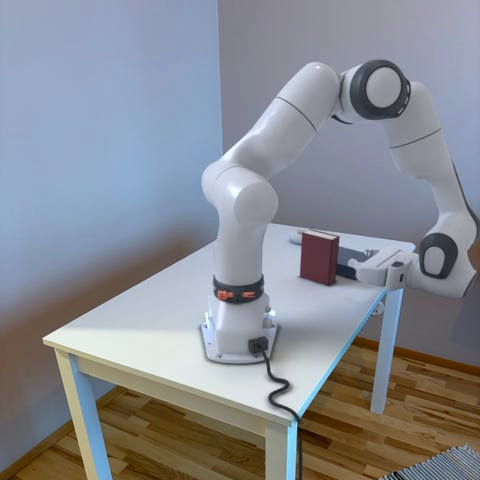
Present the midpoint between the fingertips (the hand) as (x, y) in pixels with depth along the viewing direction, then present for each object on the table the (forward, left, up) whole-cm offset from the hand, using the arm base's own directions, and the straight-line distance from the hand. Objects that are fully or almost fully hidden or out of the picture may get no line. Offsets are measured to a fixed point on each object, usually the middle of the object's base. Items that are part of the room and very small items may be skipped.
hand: (357, 256), depth 127 cm
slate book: (+18, +1, -10) cm, 20 cm away
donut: (+40, +10, -10) cm, 42 cm away
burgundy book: (+8, +9, -10) cm, 16 cm away
